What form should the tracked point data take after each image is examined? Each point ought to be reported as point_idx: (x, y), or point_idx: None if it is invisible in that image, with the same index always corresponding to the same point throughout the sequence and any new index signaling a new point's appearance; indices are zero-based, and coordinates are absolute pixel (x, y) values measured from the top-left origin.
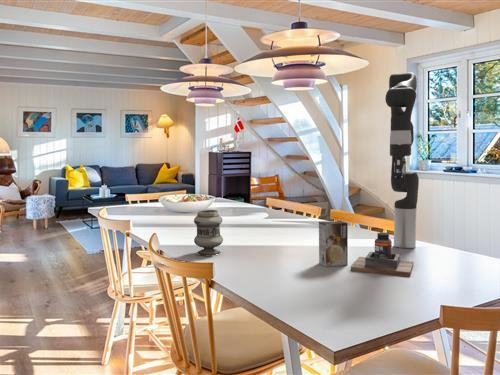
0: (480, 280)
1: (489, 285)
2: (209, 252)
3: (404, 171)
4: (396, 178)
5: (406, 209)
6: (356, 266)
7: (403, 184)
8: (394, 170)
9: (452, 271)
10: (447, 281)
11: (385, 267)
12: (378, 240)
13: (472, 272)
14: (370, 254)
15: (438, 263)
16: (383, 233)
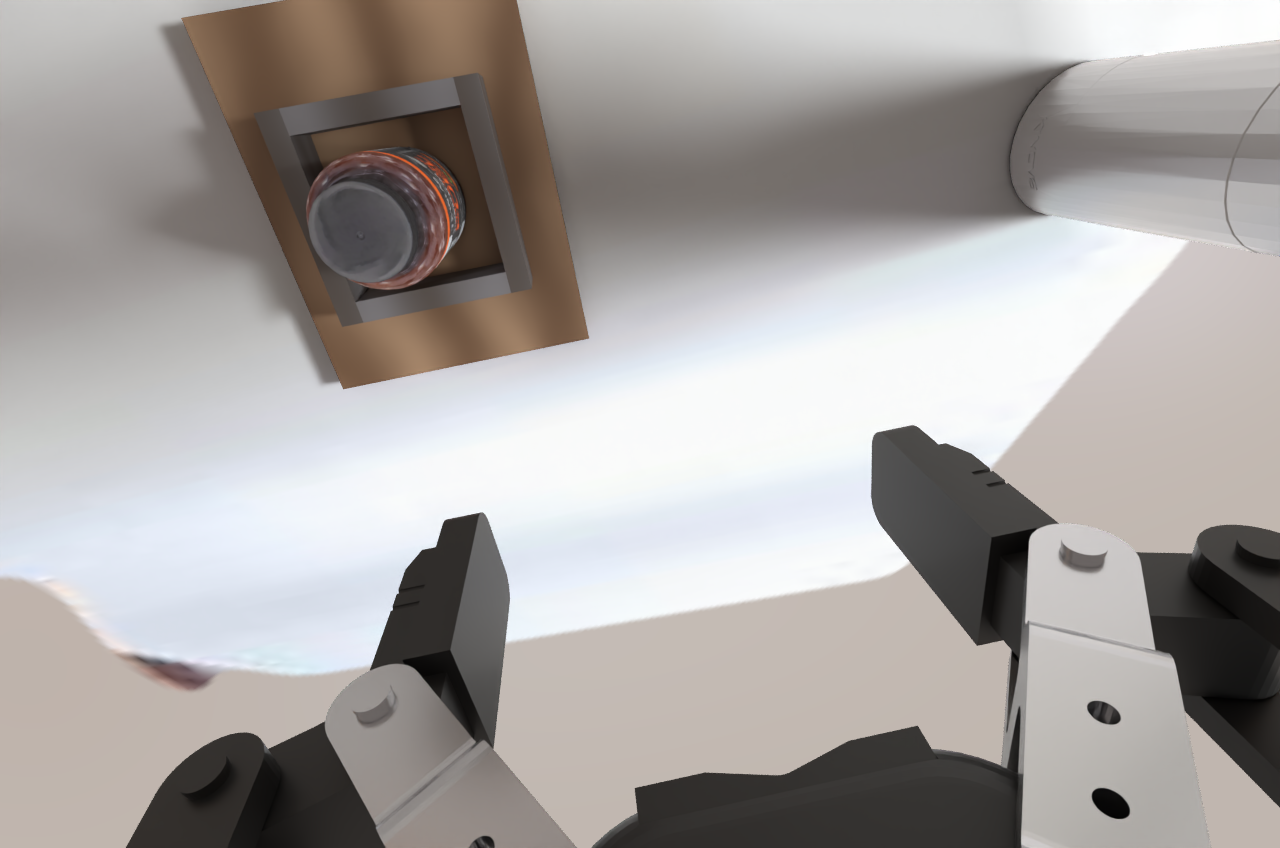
0: None
1: None
2: None
3: (1002, 762)
4: (409, 661)
5: None
6: (220, 58)
7: (878, 516)
8: (380, 826)
9: (581, 500)
10: (395, 523)
11: None
12: (311, 204)
13: (612, 559)
14: (387, 110)
15: (704, 418)
16: (358, 238)
